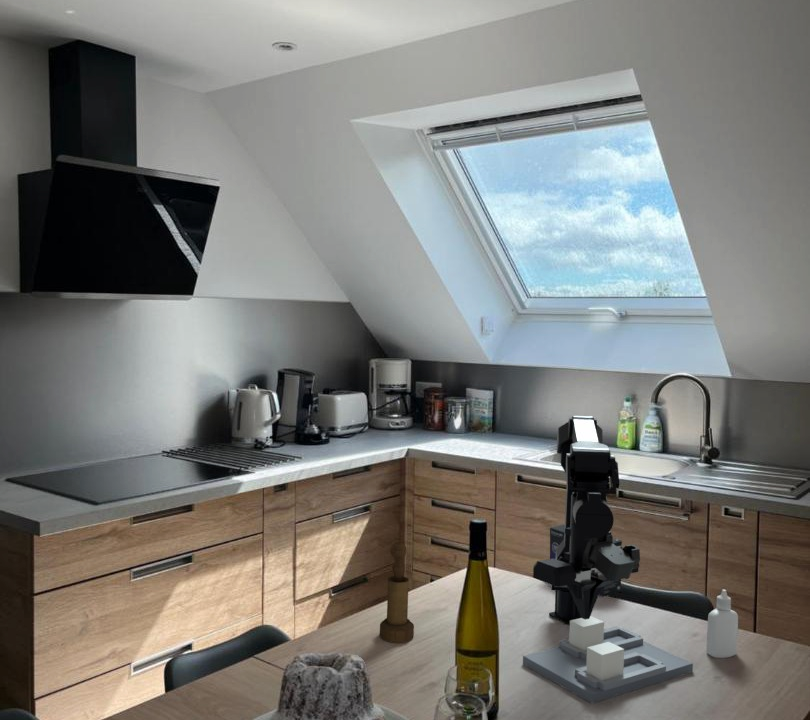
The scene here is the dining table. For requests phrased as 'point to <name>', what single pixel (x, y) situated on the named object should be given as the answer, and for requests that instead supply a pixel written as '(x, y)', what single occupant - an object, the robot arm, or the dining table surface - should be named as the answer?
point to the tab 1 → (586, 632)
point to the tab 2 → (605, 661)
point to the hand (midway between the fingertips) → (585, 618)
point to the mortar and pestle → (397, 602)
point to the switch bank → (639, 671)
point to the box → (556, 540)
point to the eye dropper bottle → (722, 629)
